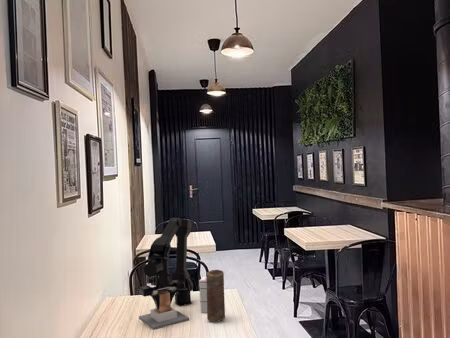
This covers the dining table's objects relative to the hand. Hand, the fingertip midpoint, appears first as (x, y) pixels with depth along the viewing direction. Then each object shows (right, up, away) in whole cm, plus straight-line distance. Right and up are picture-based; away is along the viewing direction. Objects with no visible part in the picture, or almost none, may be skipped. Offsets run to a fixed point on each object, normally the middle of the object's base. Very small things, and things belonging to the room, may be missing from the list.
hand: (163, 308), depth 174 cm
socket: (0, -5, 0) cm, 5 cm away
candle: (+23, -4, -4) cm, 23 cm away
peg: (0, -3, 0) cm, 2 cm away
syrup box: (+19, -4, +8) cm, 21 cm away
